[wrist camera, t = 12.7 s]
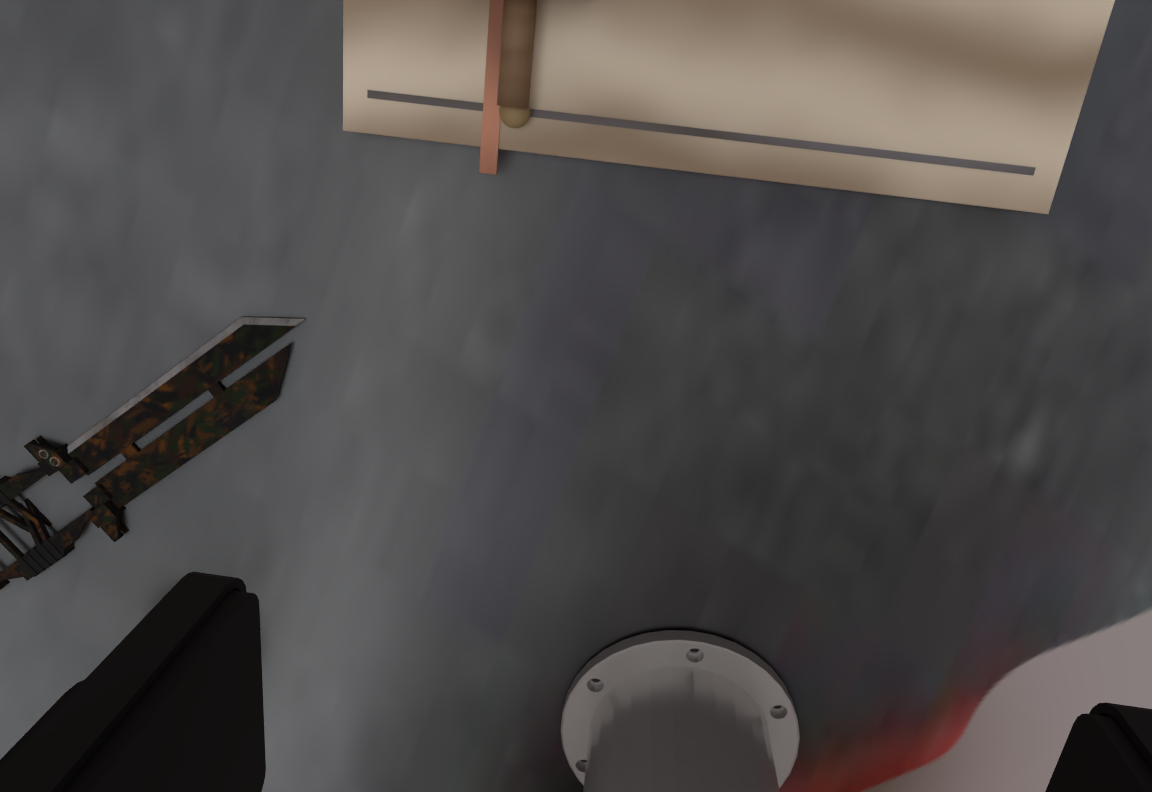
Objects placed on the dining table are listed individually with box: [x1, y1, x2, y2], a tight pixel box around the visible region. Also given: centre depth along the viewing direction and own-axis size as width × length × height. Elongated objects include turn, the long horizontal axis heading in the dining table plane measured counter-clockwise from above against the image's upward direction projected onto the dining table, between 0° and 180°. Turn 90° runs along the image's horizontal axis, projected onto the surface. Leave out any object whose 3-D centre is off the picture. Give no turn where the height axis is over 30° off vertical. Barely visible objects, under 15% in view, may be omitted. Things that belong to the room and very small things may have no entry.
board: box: [343, 0, 1115, 214], centre depth 30 cm, size 13×28×4 cm, turn 84°
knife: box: [0, 317, 305, 589], centre depth 42 cm, size 25×6×1 cm, turn 119°
